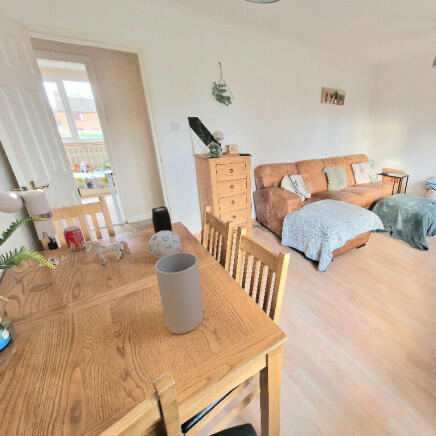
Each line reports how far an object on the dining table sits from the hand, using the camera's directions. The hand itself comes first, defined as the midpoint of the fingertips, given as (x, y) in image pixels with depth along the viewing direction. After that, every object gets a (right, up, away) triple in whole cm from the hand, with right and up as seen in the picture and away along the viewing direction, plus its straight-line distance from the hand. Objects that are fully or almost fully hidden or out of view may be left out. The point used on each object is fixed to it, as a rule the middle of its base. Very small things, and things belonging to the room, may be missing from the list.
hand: (54, 249), depth 121 cm
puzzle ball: (+56, -5, +3) cm, 56 cm away
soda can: (+6, -1, +7) cm, 9 cm away
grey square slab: (+4, -6, -5) cm, 9 cm away
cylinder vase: (+83, -22, -35) cm, 92 cm away
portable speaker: (+45, +3, +21) cm, 50 cm away
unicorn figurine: (+32, -7, -5) cm, 33 cm away
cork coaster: (+16, -13, -22) cm, 30 cm away
